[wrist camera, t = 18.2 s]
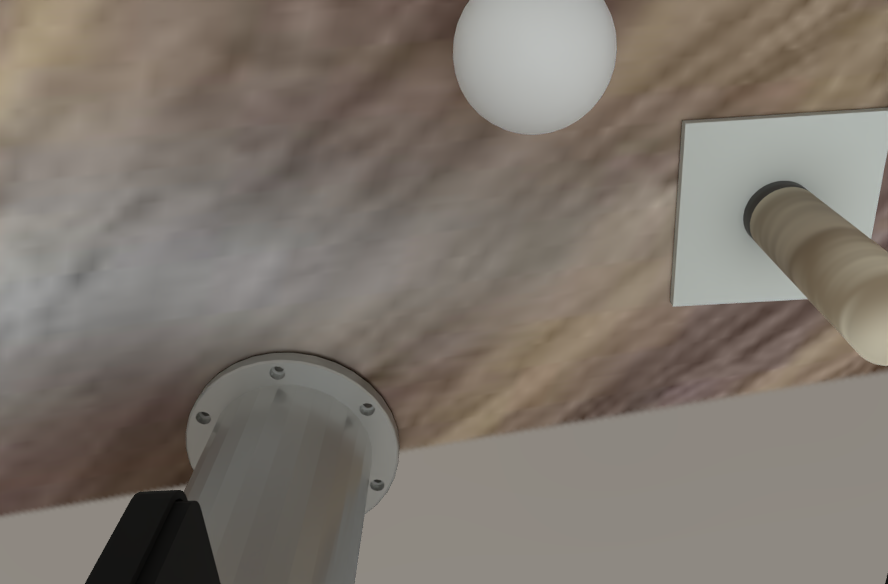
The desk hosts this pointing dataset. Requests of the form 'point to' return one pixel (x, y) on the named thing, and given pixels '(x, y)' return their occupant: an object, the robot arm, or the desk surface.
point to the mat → (752, 167)
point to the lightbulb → (534, 60)
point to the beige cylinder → (825, 262)
